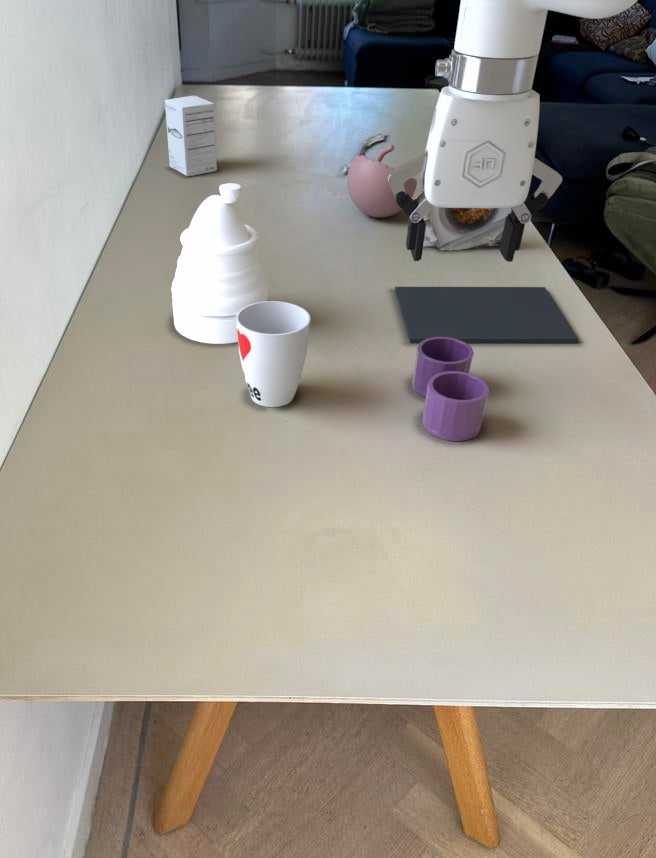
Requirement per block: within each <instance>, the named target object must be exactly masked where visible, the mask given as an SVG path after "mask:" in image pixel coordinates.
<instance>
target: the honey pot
mask: <svg viewBox="0 0 656 858" xmlns="http://www.w3.org/2000/svg"><path fill="white" fill-rule="evenodd" d="M218 186H219V193H220V195H218V194H212V195H209V196H208V197H206V198H205V200H203V201H202V202H201V204H200V205H199V206H198V208H197V210H196V211H195V213H194V215H193V217H192V219H191V222H190V224H189V227H186V229H184V230H183V231H182V233H181V234H180V238H179V240H180V243H181V245H182V248H181V253H180V256H178V258H177V263H176V266H177V267H176V268H175V274H174V278H173V279H172V284H171V290H170V291H171V294H172V295H171V298H172V302H171V303H172V304H171V305H172V313H173V314H172V315H173V325H174V327H175V330H176V331H177V332H178V333H179V334H180V335H182V336H183V337H185V338H187V339H188V340H192V341H194V342H195V341H196V342H199V343H205V344H212V345H213V344H214V345H215V344H216V345H218V344H219V345H226V344H234V343H238V333H237V321H236V316H237V313H238V312H239V311H240V310H241V309H242V308H244V307H246V306H248V305H251V304H254V303H258V302H265V301H269V285H268V280H267V279H266V277H265V275H264V270H263V269H264V268H263V267H262V266H261V258H260V257H259V256H258V253H257V251H256V248H255V247H256V246H257V245H258V243H259V240H260V235H259V233H258V232H257V230H256V229H255V228H253V227H252V226H250V225H248V224H245V223H244V221H243V219H242V217H241V215H240V214H239V212H238V211H237V209H236V208H235V207H234V205H233V204H234V203H235V202H237V200H238V199H239V197H240V194H241V187H242V186H241V185H240V184H238V183H234V182H229V183H222V184H220V185H218Z"/></svg>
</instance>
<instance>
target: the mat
mask: <svg viewBox="0 0 656 858" xmlns="http://www.w3.org/2000/svg"><path fill="white" fill-rule="evenodd" d="M394 292H395V296H396V299H397V303H398V307H399V310H400V313H401V317H402V320H403V323H404V327H405V330H406V334H407V337H408V341H409V343H411V344H415V343H416V344H417V343H418V344H419V343H420V342H421V341H423V340H425V339H428V338H432V337H449V338H455V339H458V340H461V341H463V342H465V343H467V344H578V342H579V338H578V337H577V335H576V333H575V332H574V330H573V328H571V326H570V324H569V323H568V321H567V319H566V318H565V316H564V315H563V313H562V311H561V310H560V308H559V307H558V305H557V303H556V302H555V300H554V299H553V298H552V295H550V293H549V291H548V290H547V288H546V287H545V286H394Z"/></svg>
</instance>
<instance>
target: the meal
mask: <svg viewBox="0 0 656 858" xmlns="http://www.w3.org/2000/svg"><path fill="white" fill-rule="evenodd" d="M511 211H512V209H511V208H444V207H437V206H434V207H433V208H432V209H431V210H430V211H429V212H428V213H427V214H426V215H425V216H424V221H426V220H429V221H430V224H431V225H426V229H425V236H424V244H423V248H425V247H430V246H434V247H436V248H438V249H439V250H441V251H460V250H461V251H462V250H467V249H472V248H475V247H481V246H484V247H494V246H496V247H500V244H501V239H502V234H503V230H504V225H505V220H506V216H508V213H511Z"/></svg>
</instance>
